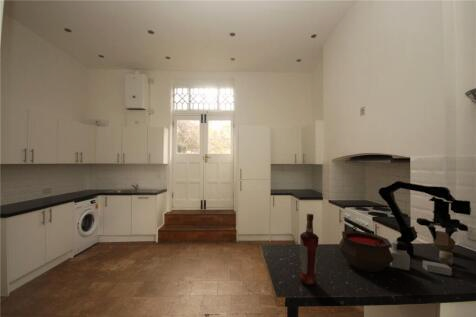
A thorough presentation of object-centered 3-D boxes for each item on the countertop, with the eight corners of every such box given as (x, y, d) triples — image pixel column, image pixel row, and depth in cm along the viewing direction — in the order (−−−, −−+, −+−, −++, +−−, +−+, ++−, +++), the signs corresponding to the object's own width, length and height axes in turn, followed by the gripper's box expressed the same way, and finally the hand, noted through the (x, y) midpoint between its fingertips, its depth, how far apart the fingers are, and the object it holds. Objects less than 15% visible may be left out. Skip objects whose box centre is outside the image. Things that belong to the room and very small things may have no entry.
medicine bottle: (405, 264, 106) (405, 240, 106) (409, 270, 99) (410, 245, 100) (388, 261, 109) (388, 238, 109) (391, 267, 102) (392, 242, 103)
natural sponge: (436, 252, 122) (437, 235, 123) (430, 247, 130) (431, 231, 131) (457, 256, 118) (458, 239, 119) (450, 250, 126) (450, 234, 127)
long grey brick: (426, 271, 100) (427, 264, 100) (422, 267, 104) (422, 260, 104) (451, 276, 97) (451, 268, 97) (445, 271, 101) (446, 264, 101)
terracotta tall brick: (436, 244, 107) (437, 232, 107) (432, 241, 111) (433, 230, 112) (448, 246, 106) (448, 234, 106) (443, 243, 110) (444, 231, 110)
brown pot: (407, 280, 91) (408, 243, 91) (350, 276, 92) (352, 239, 92) (374, 255, 115) (375, 226, 115) (329, 252, 116) (330, 223, 116)
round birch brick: (442, 263, 109) (442, 253, 109) (437, 259, 114) (437, 250, 114) (454, 265, 107) (455, 255, 107) (449, 261, 112) (449, 252, 112)
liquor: (296, 276, 90) (298, 211, 91) (312, 276, 90) (315, 212, 91) (302, 286, 83) (304, 216, 83) (320, 287, 83) (322, 217, 84)
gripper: (424, 211, 105) (424, 242, 105) (475, 216, 98) (474, 250, 97) (416, 207, 115) (415, 235, 115) (461, 212, 108) (461, 242, 108)
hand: (440, 240), depth 109 cm, fingers closed on terracotta tall brick, 4 cm apart
